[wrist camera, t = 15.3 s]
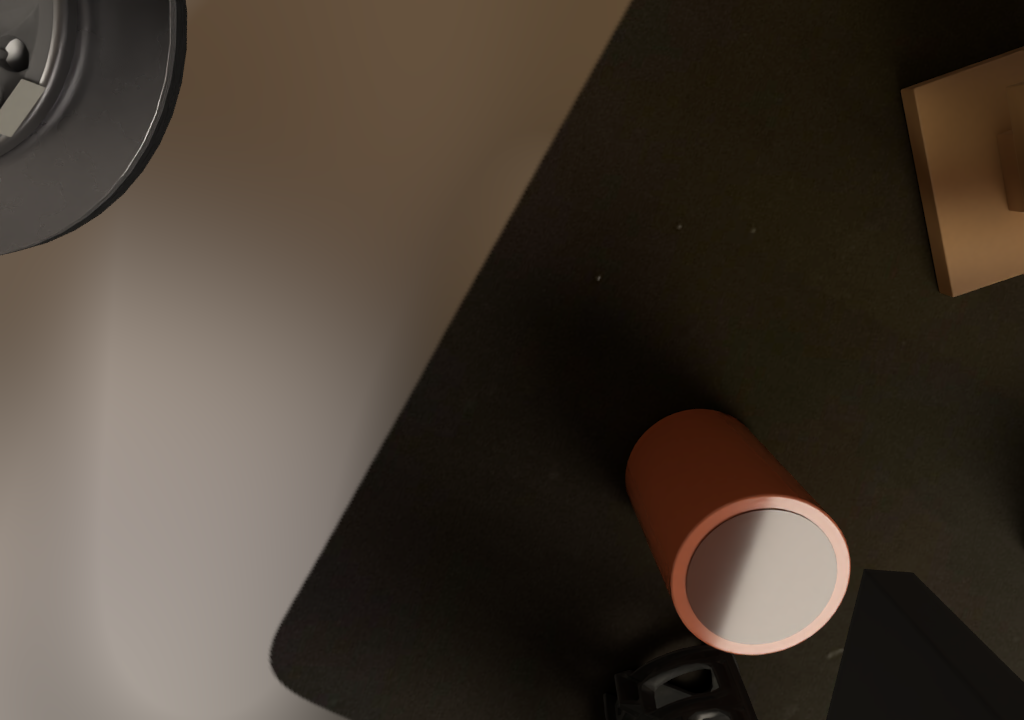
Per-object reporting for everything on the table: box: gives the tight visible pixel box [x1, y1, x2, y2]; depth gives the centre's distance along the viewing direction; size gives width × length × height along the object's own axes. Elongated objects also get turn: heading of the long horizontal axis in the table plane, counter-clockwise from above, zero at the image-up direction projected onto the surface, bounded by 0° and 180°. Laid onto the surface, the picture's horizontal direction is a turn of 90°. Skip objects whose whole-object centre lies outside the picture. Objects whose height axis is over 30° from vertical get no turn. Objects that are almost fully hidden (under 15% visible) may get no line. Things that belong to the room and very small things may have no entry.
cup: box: [625, 409, 851, 655], centre depth 35 cm, size 7×7×10 cm
